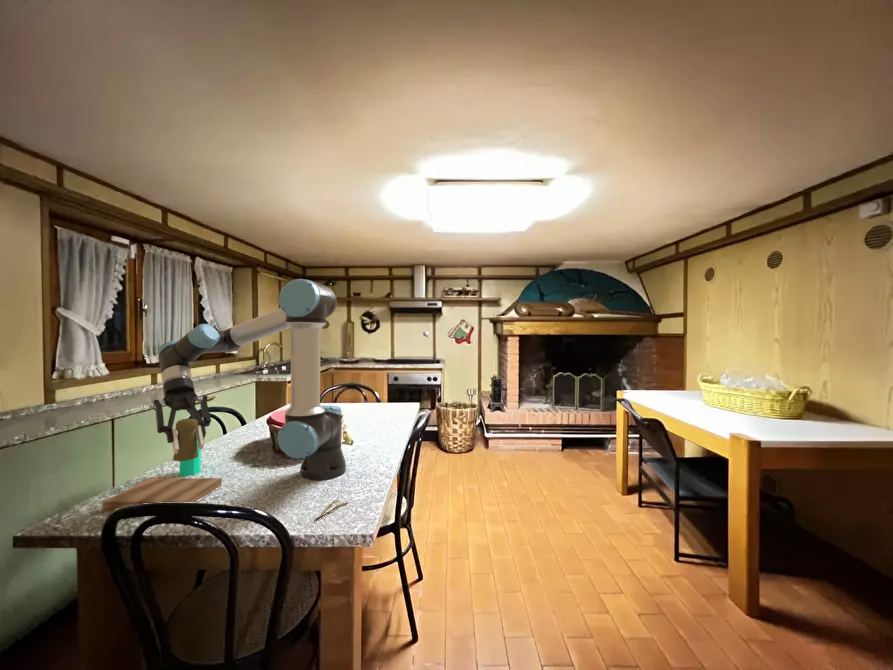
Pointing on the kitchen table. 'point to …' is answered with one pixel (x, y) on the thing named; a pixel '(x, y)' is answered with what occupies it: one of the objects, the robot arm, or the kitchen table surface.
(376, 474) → the kitchen table surface
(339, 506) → the tongs
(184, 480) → the walnut board
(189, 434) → the cork
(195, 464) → the candle
